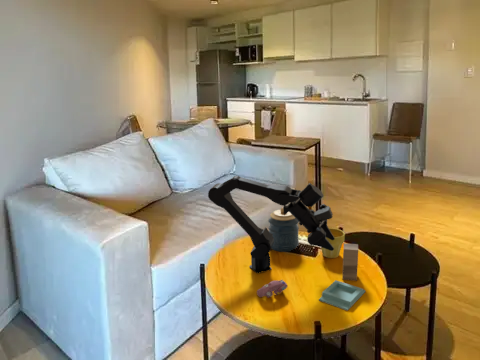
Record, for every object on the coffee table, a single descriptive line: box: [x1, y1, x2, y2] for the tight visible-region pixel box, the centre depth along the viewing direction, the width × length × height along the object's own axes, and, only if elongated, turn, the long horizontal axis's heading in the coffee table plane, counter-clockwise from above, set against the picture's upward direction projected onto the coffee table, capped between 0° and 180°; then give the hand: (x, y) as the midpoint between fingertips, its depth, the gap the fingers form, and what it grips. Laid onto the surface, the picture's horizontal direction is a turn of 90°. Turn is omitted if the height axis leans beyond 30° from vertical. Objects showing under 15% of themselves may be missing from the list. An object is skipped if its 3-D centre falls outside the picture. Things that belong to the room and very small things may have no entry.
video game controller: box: [256, 279, 288, 298], centre depth 141 cm, size 10×5×7 cm
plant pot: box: [320, 227, 346, 259], centre depth 169 cm, size 10×10×10 cm
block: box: [342, 242, 359, 282], centre depth 151 cm, size 5×5×12 cm
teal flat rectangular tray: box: [318, 280, 366, 311], centre depth 139 cm, size 14×10×2 cm
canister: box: [267, 206, 300, 253], centre depth 177 cm, size 13×13×18 cm
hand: (333, 244), depth 150 cm, fingers open, 9 cm apart
